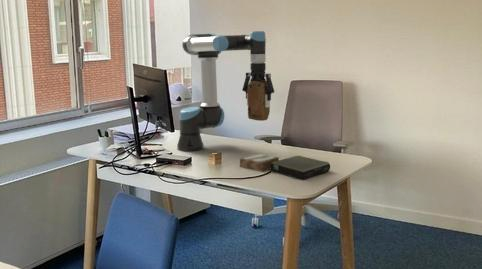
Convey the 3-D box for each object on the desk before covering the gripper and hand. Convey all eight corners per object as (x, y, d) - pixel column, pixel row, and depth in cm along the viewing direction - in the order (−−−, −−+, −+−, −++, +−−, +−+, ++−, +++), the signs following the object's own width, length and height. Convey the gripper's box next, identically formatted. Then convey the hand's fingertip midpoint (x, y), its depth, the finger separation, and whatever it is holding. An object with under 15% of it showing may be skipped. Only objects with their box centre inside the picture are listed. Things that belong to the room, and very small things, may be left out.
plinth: (240, 166, 268) (240, 158, 267) (256, 160, 278) (256, 152, 278) (262, 171, 259) (262, 162, 258) (278, 165, 270) (278, 157, 269)
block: (271, 119, 270) (271, 80, 266) (263, 121, 264) (262, 81, 260) (253, 117, 276) (253, 79, 272) (245, 119, 271) (244, 80, 267)
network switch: (293, 163, 275) (294, 154, 274) (333, 171, 261) (333, 161, 259) (266, 173, 258) (267, 163, 256) (307, 182, 243) (308, 171, 242)
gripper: (235, 62, 269) (235, 105, 273) (273, 63, 255) (273, 109, 259) (243, 61, 274) (244, 103, 279) (281, 62, 260) (281, 107, 265)
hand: (258, 106), depth 269 cm, fingers closed on block, 11 cm apart
